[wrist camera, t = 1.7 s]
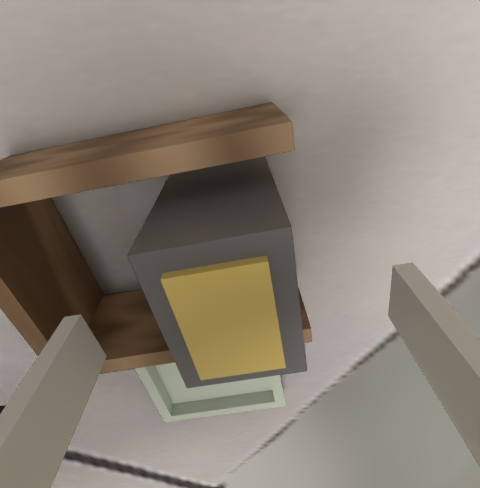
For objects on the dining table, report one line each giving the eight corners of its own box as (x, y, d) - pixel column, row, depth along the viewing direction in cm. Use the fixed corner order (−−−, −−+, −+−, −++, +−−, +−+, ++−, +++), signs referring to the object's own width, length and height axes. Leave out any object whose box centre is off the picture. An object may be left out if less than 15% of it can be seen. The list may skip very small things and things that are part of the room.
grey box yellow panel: (202, 263, 25) (185, 395, 15) (173, 166, 21) (123, 262, 11) (276, 250, 24) (309, 378, 14) (261, 149, 20) (293, 232, 10)
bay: (96, 308, 27) (57, 380, 21) (8, 156, 20) (-87, 197, 14) (292, 275, 25) (312, 341, 19) (271, 102, 19) (292, 121, 13)
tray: (167, 406, 34) (165, 422, 33) (120, 316, 27) (113, 331, 26) (283, 390, 33) (285, 406, 32) (265, 292, 26) (267, 306, 25)
